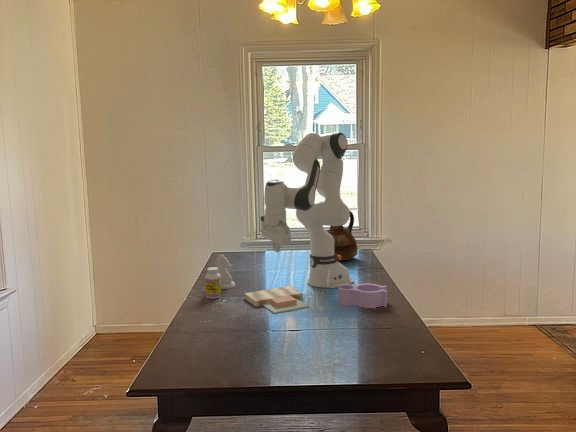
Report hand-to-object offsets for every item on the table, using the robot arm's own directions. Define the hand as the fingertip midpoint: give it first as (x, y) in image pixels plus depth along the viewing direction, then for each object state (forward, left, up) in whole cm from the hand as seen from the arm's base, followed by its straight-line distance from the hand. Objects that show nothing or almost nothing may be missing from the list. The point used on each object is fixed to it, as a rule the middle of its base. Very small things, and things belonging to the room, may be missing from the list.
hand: (276, 251), depth 213 cm
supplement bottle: (+23, -17, -22) cm, 36 cm away
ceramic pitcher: (-62, -47, -22) cm, 81 cm away
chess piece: (+13, -30, -22) cm, 39 cm away
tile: (+1, +7, -21) cm, 22 cm away
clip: (-29, +21, -22) cm, 42 cm away
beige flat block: (+1, -2, -21) cm, 22 cm away
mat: (+1, +9, -21) cm, 23 cm away
